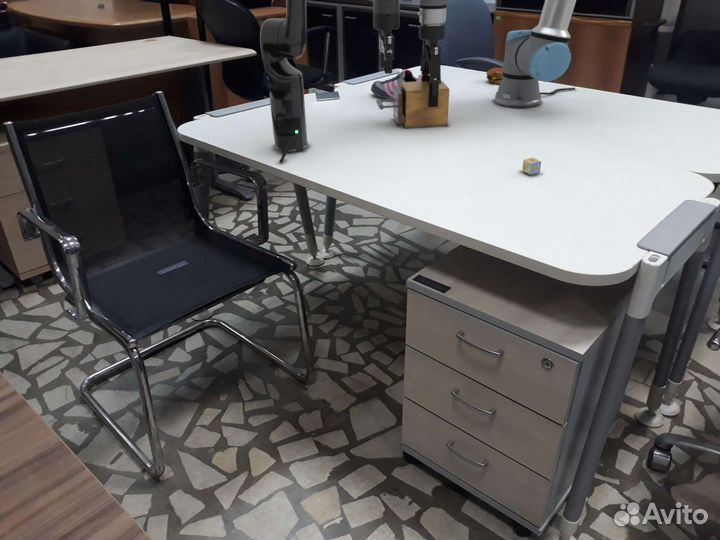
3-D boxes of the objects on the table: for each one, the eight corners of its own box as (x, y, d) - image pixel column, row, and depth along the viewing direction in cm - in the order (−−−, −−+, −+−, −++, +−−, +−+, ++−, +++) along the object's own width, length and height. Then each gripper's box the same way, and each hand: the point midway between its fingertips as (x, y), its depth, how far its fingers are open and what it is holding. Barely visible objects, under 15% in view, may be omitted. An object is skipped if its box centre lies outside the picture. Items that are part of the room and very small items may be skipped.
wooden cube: (405, 128, 173) (406, 90, 167) (400, 118, 182) (400, 82, 176) (447, 125, 174) (449, 88, 168) (439, 116, 183) (441, 80, 177)
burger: (509, 78, 224) (510, 66, 222) (513, 84, 216) (515, 71, 214) (483, 78, 224) (484, 66, 222) (487, 84, 216) (488, 72, 214)
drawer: (379, 126, 172) (379, 94, 167) (376, 117, 180) (375, 87, 175) (435, 123, 173) (437, 91, 169) (429, 114, 181) (430, 84, 177)
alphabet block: (529, 175, 138) (531, 163, 136) (521, 170, 140) (523, 159, 139) (540, 173, 139) (541, 161, 137) (531, 168, 141) (533, 157, 140)
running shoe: (382, 90, 212) (382, 60, 206) (438, 103, 195) (439, 70, 190) (365, 95, 206) (364, 64, 201) (420, 108, 190) (421, 75, 184)
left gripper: (370, 7, 166) (370, 65, 174) (376, 14, 154) (376, 76, 162) (395, 6, 167) (395, 64, 175) (403, 13, 154) (402, 75, 163)
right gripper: (412, 19, 173) (410, 92, 184) (427, 30, 153) (424, 112, 164) (436, 18, 173) (433, 91, 185) (454, 29, 154) (450, 111, 165)
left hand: (386, 70), depth 169 cm, fingers open, 8 cm apart
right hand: (429, 101), depth 175 cm, fingers closed on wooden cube, 11 cm apart
